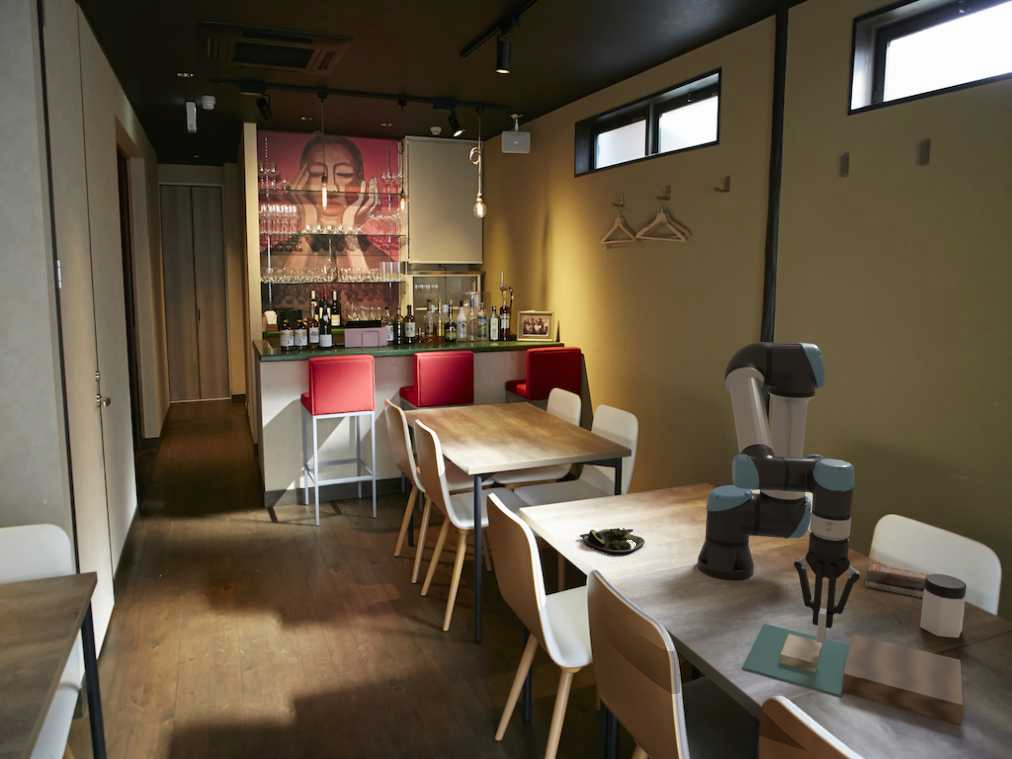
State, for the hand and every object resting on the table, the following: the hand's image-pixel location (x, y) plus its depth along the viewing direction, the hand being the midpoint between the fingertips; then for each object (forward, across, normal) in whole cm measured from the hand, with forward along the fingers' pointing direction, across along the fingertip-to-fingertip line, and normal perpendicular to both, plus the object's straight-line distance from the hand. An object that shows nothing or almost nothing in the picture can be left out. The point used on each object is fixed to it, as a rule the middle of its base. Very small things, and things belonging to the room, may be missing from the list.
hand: (821, 639), depth 151 cm
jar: (+6, +23, +31) cm, 39 cm away
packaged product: (+6, +14, +52) cm, 54 cm away
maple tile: (+3, -4, 0) cm, 5 cm away
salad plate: (+6, -64, +40) cm, 75 cm away
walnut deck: (+5, +15, 0) cm, 16 cm away
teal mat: (+5, -4, 0) cm, 7 cm away
